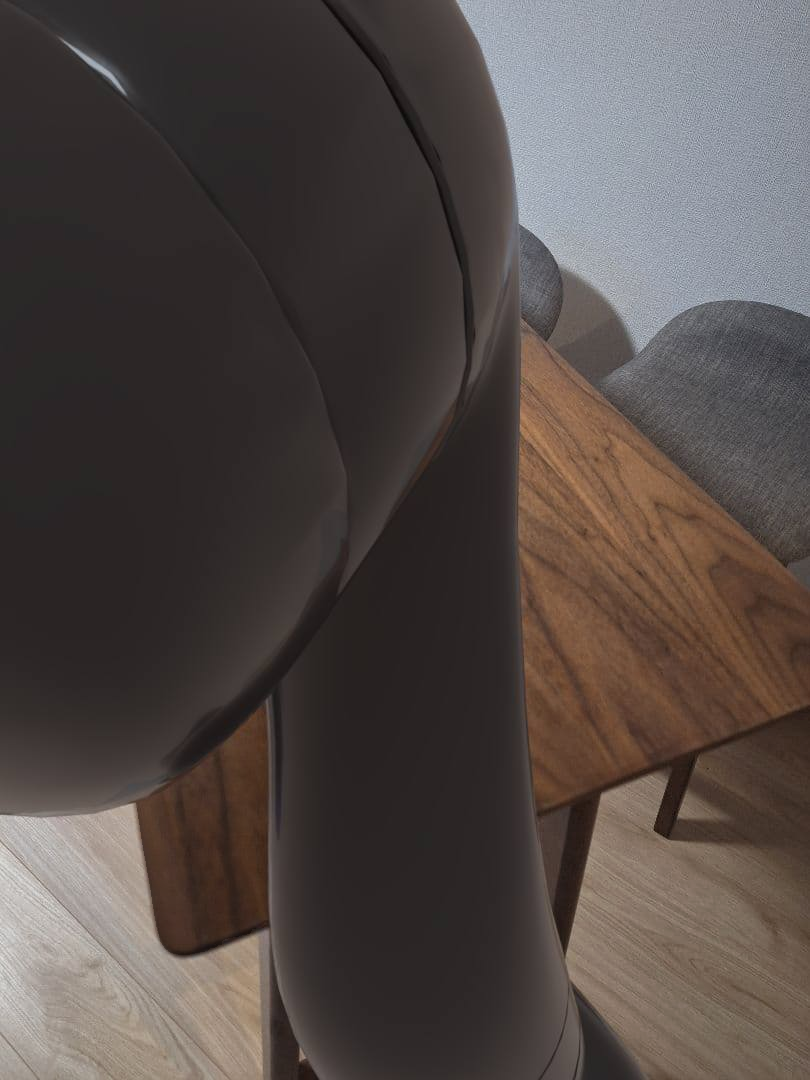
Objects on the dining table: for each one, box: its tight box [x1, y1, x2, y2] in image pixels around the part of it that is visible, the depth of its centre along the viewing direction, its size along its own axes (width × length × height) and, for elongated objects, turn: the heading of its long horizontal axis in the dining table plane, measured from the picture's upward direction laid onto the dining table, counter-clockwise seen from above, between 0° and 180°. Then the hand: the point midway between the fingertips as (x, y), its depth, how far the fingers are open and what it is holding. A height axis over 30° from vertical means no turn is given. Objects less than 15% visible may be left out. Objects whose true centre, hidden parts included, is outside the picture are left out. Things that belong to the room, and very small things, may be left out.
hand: (278, 528), depth 54 cm, fingers closed on beverage can, 5 cm apart
